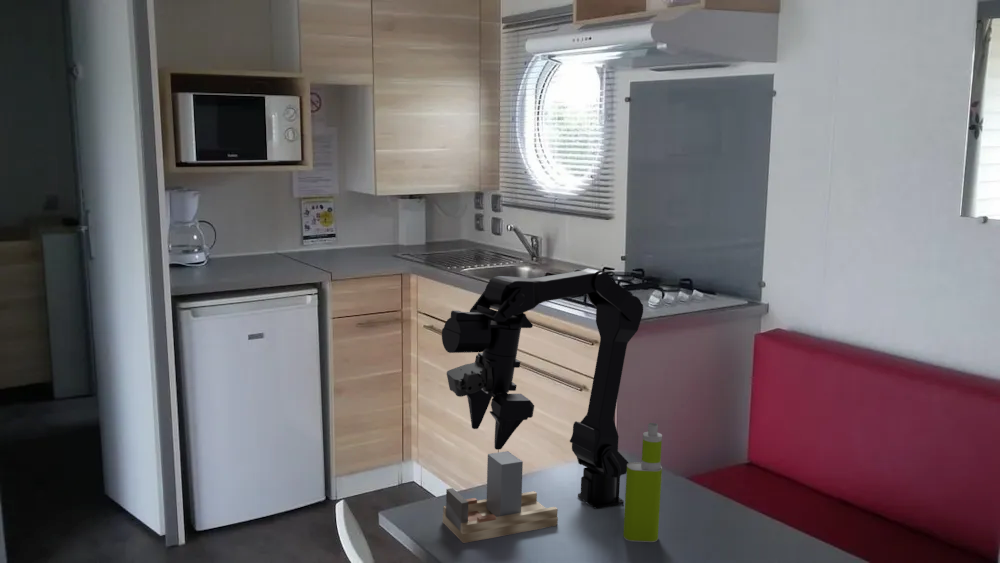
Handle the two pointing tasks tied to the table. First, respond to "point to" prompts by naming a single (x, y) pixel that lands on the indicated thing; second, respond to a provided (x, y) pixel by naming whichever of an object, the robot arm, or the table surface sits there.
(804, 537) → the table surface
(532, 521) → the sleeve track
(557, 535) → the table surface
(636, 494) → the vape
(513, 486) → the grey rectangular box
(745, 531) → the table surface
